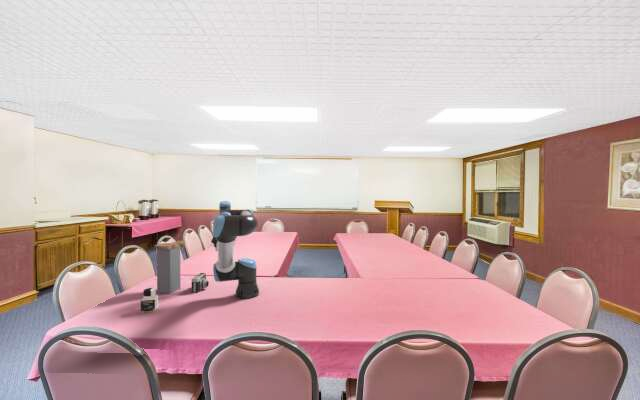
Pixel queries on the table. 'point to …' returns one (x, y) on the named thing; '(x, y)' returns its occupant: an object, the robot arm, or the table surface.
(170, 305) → the table surface
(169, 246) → the walnut paddle board
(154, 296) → the medicine bottle
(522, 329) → the table surface
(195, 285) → the camera
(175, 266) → the charcoal pedestal
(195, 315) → the table surface
